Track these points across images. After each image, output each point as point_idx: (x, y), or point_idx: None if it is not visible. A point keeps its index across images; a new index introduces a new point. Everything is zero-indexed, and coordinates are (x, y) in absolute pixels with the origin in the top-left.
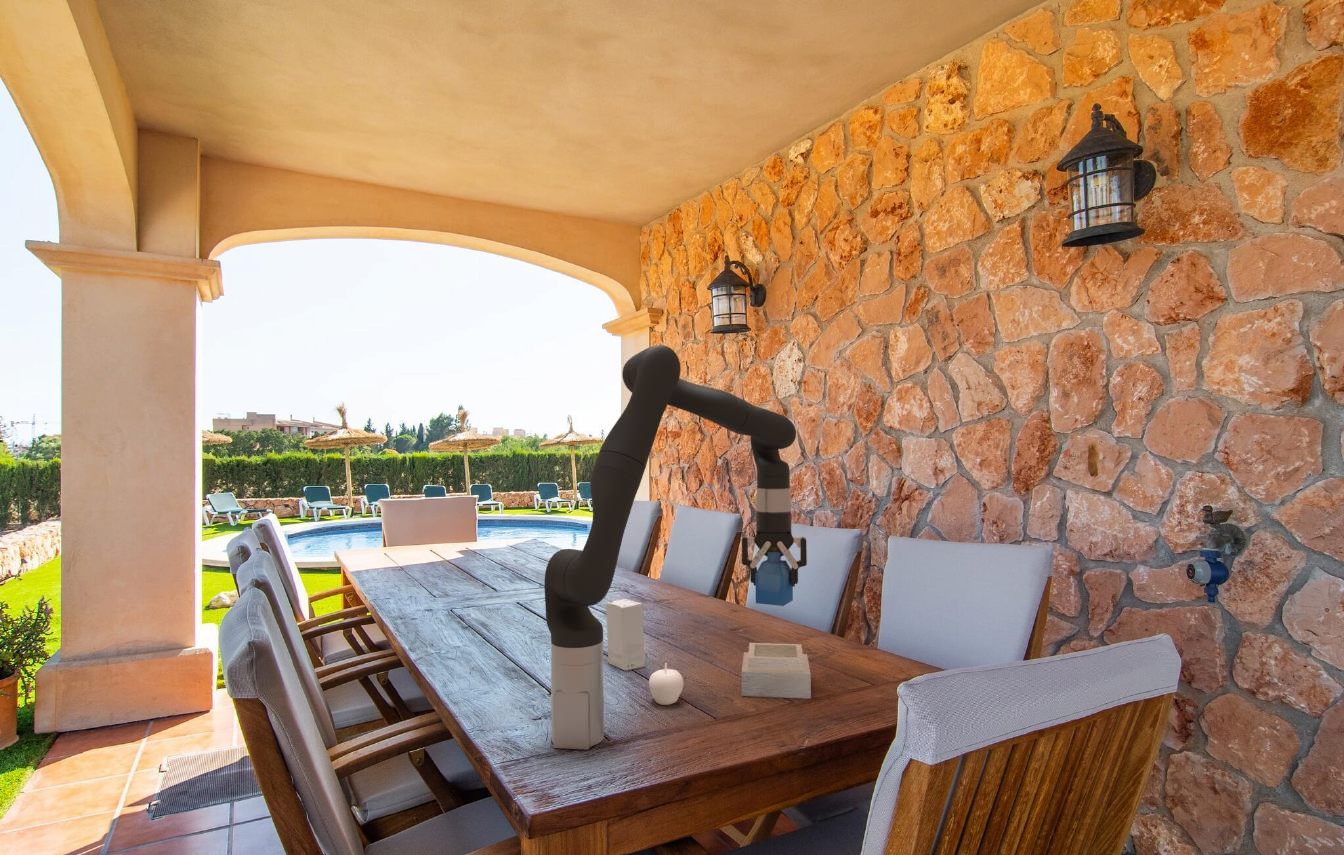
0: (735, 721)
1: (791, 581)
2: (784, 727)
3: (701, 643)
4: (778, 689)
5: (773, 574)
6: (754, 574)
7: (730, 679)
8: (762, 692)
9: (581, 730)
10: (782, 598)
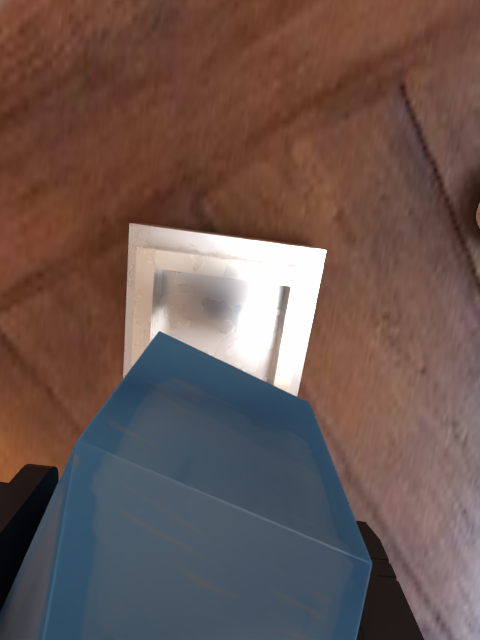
0: (355, 60)
1: (35, 503)
2: (238, 10)
3: None
4: (224, 234)
5: (185, 498)
6: (370, 578)
7: (320, 360)
8: (263, 239)
9: None
10: (153, 349)
